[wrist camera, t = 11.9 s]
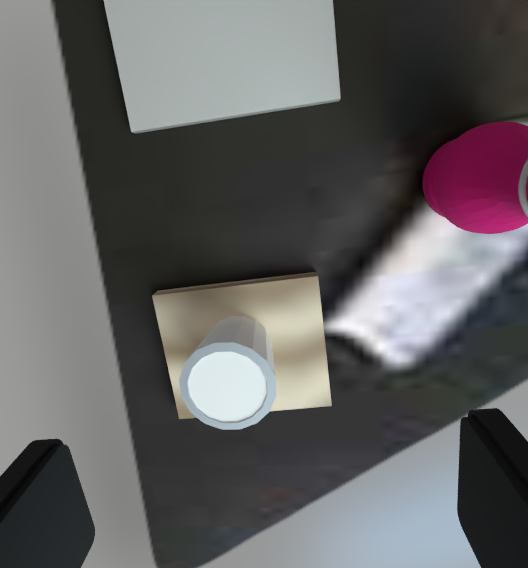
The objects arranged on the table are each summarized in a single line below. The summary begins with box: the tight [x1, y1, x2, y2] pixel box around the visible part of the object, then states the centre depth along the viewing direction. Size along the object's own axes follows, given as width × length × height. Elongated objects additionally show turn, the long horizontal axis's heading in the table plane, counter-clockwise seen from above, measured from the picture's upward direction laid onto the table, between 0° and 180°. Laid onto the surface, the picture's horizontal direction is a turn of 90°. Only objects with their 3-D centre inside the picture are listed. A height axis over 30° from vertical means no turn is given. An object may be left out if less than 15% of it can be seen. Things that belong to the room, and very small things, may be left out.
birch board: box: [152, 272, 332, 419], centre depth 35 cm, size 12×14×2 cm
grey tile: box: [104, 0, 341, 133], centre depth 28 cm, size 12×16×1 cm
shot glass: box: [179, 316, 276, 429], centre depth 30 cm, size 7×7×7 cm
